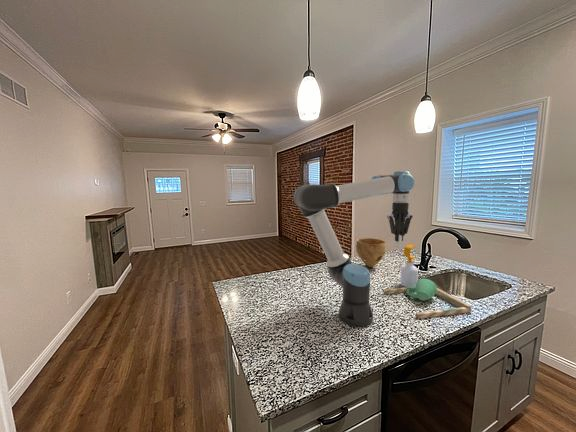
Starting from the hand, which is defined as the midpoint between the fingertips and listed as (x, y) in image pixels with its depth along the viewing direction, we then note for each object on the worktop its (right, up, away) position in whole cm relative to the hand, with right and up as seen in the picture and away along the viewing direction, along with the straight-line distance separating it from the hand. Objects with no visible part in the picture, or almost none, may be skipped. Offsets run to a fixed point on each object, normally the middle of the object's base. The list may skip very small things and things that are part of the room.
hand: (398, 247), depth 128 cm
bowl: (+3, -21, +52) cm, 56 cm away
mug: (+9, -25, -2) cm, 27 cm away
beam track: (+12, -28, -2) cm, 30 cm away
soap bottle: (+15, -25, +19) cm, 35 cm away
